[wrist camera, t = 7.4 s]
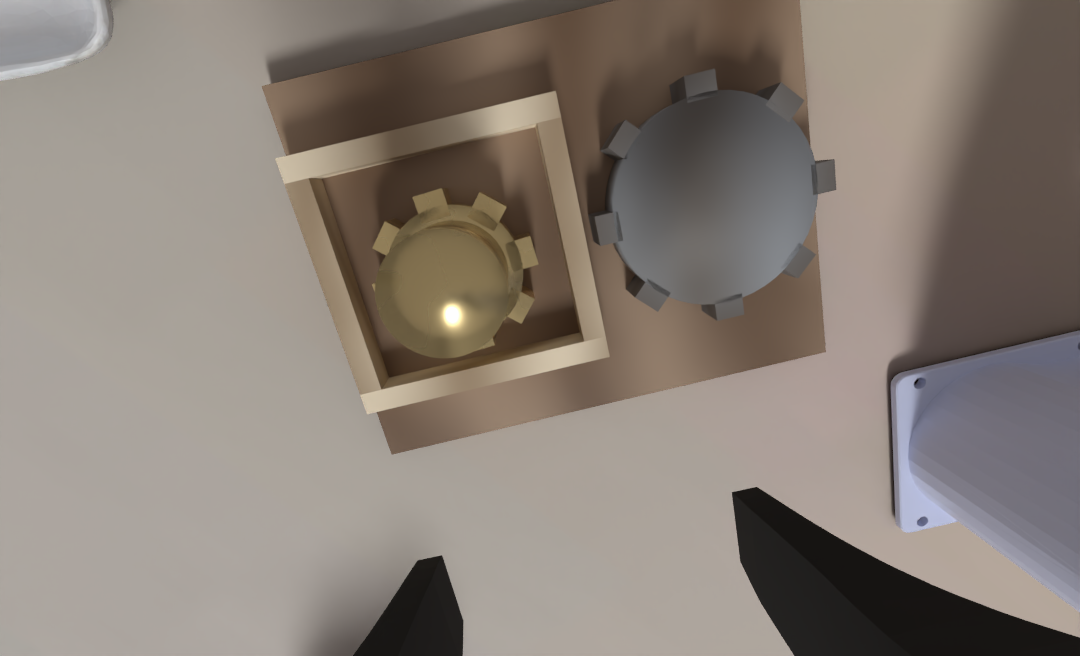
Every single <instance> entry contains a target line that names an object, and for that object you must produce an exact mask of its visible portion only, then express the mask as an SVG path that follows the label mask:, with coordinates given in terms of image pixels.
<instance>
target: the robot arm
mask: <svg viewBox="0 0 1080 656" xmlns="http://www.w3.org/2000/svg"><path fill="white" fill-rule="evenodd" d="M1078 343H1079V344H1078ZM918 378H919V380H918V382H917V383H916V384H915V385H914V382H915V380H916V379H918ZM891 408H892V436H893V463H894V491H895V518H896V525H897V526H898V527H899V528H900V529H902V530H903V531H904V532H907V533H908V532H915V531H919V530H923V529H928V528H932V527H936V526H940V525H945V524H949V523H953V522H960V523H961V524H962V525H964V526H965V527H966V528H968V529H969V530H970V531H972V532H973V533H974V534H976V535H977V536H978V537H980V538H981V539H982V540H984V541H985V542H986V543H988V544H989V545H990V546H992V547H993V548H994V549H996V550H997V551H998V552H1000V553H1001V554H1002V555H1004V556H1005V557H1006V558H1008V559H1009V560H1010V561H1012V562H1013V563H1014V564H1016V565H1017V566H1018V567H1020V568H1021V569H1022V570H1024V571H1025V572H1026V573H1028V574H1029V575H1030V576H1032V577H1033V578H1034V579H1036V580H1037V581H1038V582H1040V583H1041V584H1042V585H1044V586H1045V587H1046V588H1048V589H1049V590H1050V591H1052V592H1053V593H1054V594H1056V595H1057V596H1058V597H1060V598H1061V599H1062V600H1064V601H1065V602H1066V603H1068V604H1069V605H1070V606H1072V607H1073V608H1074V609H1076V610H1077V611H1078V612H1080V330H1079V331H1075V332H1070V333H1066V334H1062V335H1058V336H1053V337H1049V338H1045V339H1041V340H1036V341H1032V342H1028V343H1024V344H1019V345H1015V346H1011V347H1007V348H1002V349H998V350H994V351H990V352H985V353H981V354H977V355H973V356H968V357H964V358H960V359H956V360H952V361H947V362H943V363H939V364H935V365H930V366H926V367H922V368H918V369H913V370H909V371H905V372H901V373H899V374H897V375H896V376H895V377H894V378H893V379H892V381H891ZM732 497H733V505H734V513H735V521H736V529H737V537H738V545H739V553H740V561H741V563H742V566H743V568H744V570H745V572H746V574H747V576H748V578H749V580H750V582H751V584H752V586H753V588H754V590H755V592H756V594H757V596H758V598H759V600H760V602H761V604H762V605H763V607H764V609H765V610H766V612H767V613H768V615H769V617H770V618H771V620H772V621H773V623H774V624H775V626H776V628H777V629H778V631H779V632H780V634H781V636H782V637H783V639H784V640H785V642H786V643H787V645H788V646H789V648H790V650H791V651H792V653H793V654H794V656H1080V638H1079V637H1076V636H1072V635H1069V634H1066V633H1063V632H1060V631H1057V630H1053V629H1050V628H1047V627H1044V626H1041V625H1038V624H1035V623H1031V622H1028V621H1025V620H1022V619H1020V618H1017V617H1014V616H1011V615H1008V614H1005V613H1002V612H999V611H997V610H994V609H991V608H989V607H986V606H984V605H981V604H978V603H976V602H973V601H971V600H968V599H965V598H963V597H960V596H957V595H955V594H953V593H950V592H948V591H945V590H943V589H941V588H938V587H936V586H933V585H931V584H929V583H927V582H925V581H922V580H920V579H918V578H916V577H914V576H911V575H909V574H907V573H905V572H903V571H900V570H898V569H896V568H894V567H892V566H890V565H888V564H886V563H884V562H882V561H880V560H878V559H876V558H874V557H873V556H871V555H869V554H867V553H865V552H863V551H861V550H859V549H857V548H856V547H854V546H852V545H850V544H848V543H847V542H845V541H843V540H841V539H839V538H838V537H836V536H834V535H833V534H831V533H829V532H827V531H826V530H824V529H822V528H821V527H819V526H817V525H816V524H814V523H813V522H811V521H809V520H808V519H806V518H804V517H803V516H801V515H800V514H798V513H796V512H795V511H793V510H792V509H790V508H789V507H787V506H786V505H784V504H782V503H781V502H779V501H778V500H776V499H775V498H773V497H772V496H770V495H768V494H767V493H765V492H764V491H762V490H761V489H759V488H757V487H755V488H750V489H746V490H741V491H736V492H732ZM919 518H920V519H919ZM918 519H919V520H918ZM462 655H463V619H462V616H461V613H460V610H459V606H458V603H457V600H456V597H455V594H454V591H453V588H452V585H451V582H450V579H449V576H448V572H447V569H446V566H445V563H444V560H443V557H442V555H441V556H437V557H432V558H427V559H423V560H418V561H417V562H416V564H415V565H414V567H413V568H412V570H411V571H410V573H409V574H408V576H407V577H406V579H405V580H404V582H403V583H402V585H401V587H400V588H399V590H398V591H397V593H396V594H395V596H394V597H393V599H392V600H391V602H390V603H389V605H388V607H387V608H386V610H385V611H384V612H383V614H382V615H381V617H380V618H379V620H378V621H377V623H376V624H375V626H374V627H373V629H372V630H371V632H370V633H369V635H368V636H367V637H366V639H365V640H364V642H363V643H362V644H361V646H360V647H359V648H358V650H357V651H356V652H355V654H354V655H353V656H462Z"/></svg>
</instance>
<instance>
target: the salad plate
mask: <svg viewBox="0 0 1080 656" xmlns="http://www.w3.org/2000/svg"><path fill="white" fill-rule="evenodd" d="M113 19H114V18H113V12H112V8H111V5H110V2H109V0H0V81H1V80H8V79H14V78H20V77H25V76H30V75H35V74H40V73H44V72H48V71H51V70H55V69H58V68H61V67H65V66H68V65H71V64H75V63H78V62H80V61H83V60H85V59H87V58H90V57H92V56H94V55H96V54H97V53H99V52H101V51H102V50H103V49H104V48H105V47H106V46H107V44H108V42H109V41H110V39H111V37H112V32H113Z"/></svg>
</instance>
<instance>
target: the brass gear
mask: <svg viewBox="0 0 1080 656" xmlns="http://www.w3.org/2000/svg"><path fill="white" fill-rule="evenodd" d="M412 198H413V200H414V203H415V206H416V209H417V212H418V214H417V215H416V216H414V217H413V218H412V219H410V220H409V221H408V222H407V223H406V224H404V223H402V222H401V221H399V220H397V219H391V220H388V221H385V222H384V224H383V226H382V228H381V230H380V233H379V235H378V237H377V239H376V241H375V244H374V246H373V248H372V249H374V250H376V251H378V252H380V253H382V254H384V255H386V257H385V258H384V260H383V262H382V264H381V265H380V268H379V271H378V273H377V278H376V282H374V283H373V284H372V286H373V289H374V292H375V300H376V305H377V309H378V312H379V315H380V317H381V319H382V321H383V323H384V325H385V326H386V328H387V329H388V331H389V332H390V333H391V334H392V336H393V337H394V338H395V339H397V340H398V341H399V342H400V343H401V344H403V345H404V346H405V347H407V348H408V349H410V350H412V351H414V352H416V353H419V354H421V355H425V356H428V357H434V358H456V357H460V356H464V355H467V354H469V353H472V352H474V351H477V350H481V349H484V348H487V347H490V346H494V345H495V340H496V332H497V331H498V329H499V328H500V326H501V324H502V322H503V321H504V320H505V319H506V318H507V317H509V318H511V319H513V320H515V321H517V322H519V323H521V324H522V322H523V320H524V318H525V317H526V315H527V313H528V311H529V309H530V307H531V306H532V304H533V302H534V300H535V297H534V292H533V290H531V289H529V288H527V287H525V286H523V285H522V283H523V269H525V268H528V267H532V266H535V265H538V261H537V257H536V254H535V251H534V247H533V244H532V241H531V237H530V234H529V232H527V233H524V234H521V235H517V236H513V234H512V233H511V231H510V230H509V228H508V227H507V226H506V225H505V224H504V223H503V222H502V221H501V220H500V219H501V217H502V215H503V213H504V211H505V209H506V207H507V205H506V204H504V203H502V202H500V201H498V200H496V199H495V198H493V197H491V196H489V195H487V194H486V193H484V192H479V194H478V196H477V198H476V200H475V202H474V204H473V205H469V204H463V203H452V201H451V198H450V195H449V192H448V189H447V188H440V189H437V190H434V191H430V192H427V193H424V194H421V195H418V196H414V197H412Z"/></svg>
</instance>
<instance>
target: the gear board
mask: <svg viewBox="0 0 1080 656" xmlns="http://www.w3.org/2000/svg"><path fill="white" fill-rule="evenodd" d="M262 89H263V91H264V94H265V97H266V100H267V103H268V106H269V108H270V111H271V114H272V117H273V120H274V122H275V125H276V128H277V131H278V134H279V137H280V139H281V142H282V145H283V148H284V151H285V154H286V156H284V157H280V158H275V159H276V162H277V165H278V168H279V170H280V173H281V176H282V179H283V181H284V184H285V187H286V190H287V193H288V195H289V198H290V201H291V204H292V206H293V209H294V212H295V215H296V218H297V220H298V223H299V226H300V229H301V231H302V234H303V237H304V240H305V243H306V245H307V248H308V251H309V254H310V257H311V259H312V262H313V265H314V268H315V270H316V273H317V276H318V279H319V282H320V284H321V287H322V290H323V293H324V295H325V298H326V301H327V304H328V307H329V309H330V312H331V315H332V318H333V320H334V323H335V326H336V329H337V332H338V334H339V337H340V340H341V343H342V345H343V348H344V351H345V354H346V357H347V359H348V362H349V365H350V368H351V370H352V373H353V376H354V379H355V382H356V384H357V387H358V390H359V393H360V396H361V398H362V401H363V404H364V407H365V409H366V412H367V414H371V413H375V412H377V414H378V417H379V420H380V423H381V425H382V428H383V431H384V434H385V437H386V440H387V442H388V445H389V448H390V451H391V454H396V453H400V452H404V451H409V450H413V449H417V448H421V447H426V446H430V445H434V444H438V443H443V442H447V441H451V440H455V439H459V438H464V437H468V436H472V435H476V434H481V433H485V432H489V431H493V430H498V429H502V428H506V427H510V426H514V425H519V424H523V423H527V422H531V421H536V420H540V419H544V418H548V417H552V416H557V415H561V414H565V413H569V412H574V411H578V410H582V409H586V408H591V407H595V406H599V405H603V404H607V403H612V402H616V401H620V400H624V399H629V398H633V397H637V396H641V395H646V394H650V393H654V392H658V391H662V390H667V389H671V388H675V387H679V386H684V385H688V384H692V383H696V382H701V381H705V380H709V379H713V378H717V377H722V376H726V375H730V374H734V373H739V372H743V371H747V370H751V369H755V368H760V367H764V366H768V365H772V364H777V363H781V362H785V361H789V360H794V359H798V358H802V357H806V356H810V355H815V354H819V353H823V352H826V350H825V337H824V323H823V310H822V296H821V283H820V269H819V256H818V242H817V229H816V215H815V210H816V205H817V197H818V194H820V193H825V192H829V191H833V190H836V178H835V162H834V159H833V160H821V161H815V160H814V156H813V153H812V150H811V148H810V134H809V121H808V107H807V94H806V80H805V67H804V53H803V40H802V26H801V13H800V0H614V1H610V2H606V3H602V4H598V5H594V6H590V7H586V8H581V9H577V10H573V11H569V12H565V13H561V14H557V15H553V16H549V17H544V18H540V19H536V20H532V21H528V22H524V23H520V24H516V25H512V26H507V27H503V28H499V29H495V30H491V31H487V32H483V33H479V34H474V35H470V36H466V37H462V38H458V39H454V40H450V41H446V42H442V43H437V44H433V45H429V46H425V47H421V48H417V49H413V50H409V51H404V52H400V53H396V54H392V55H388V56H384V57H380V58H376V59H372V60H367V61H363V62H359V63H355V64H351V65H347V66H343V67H339V68H335V69H330V70H326V71H322V72H318V73H314V74H310V75H306V76H302V77H297V78H293V79H289V80H285V81H281V82H277V83H273V84H269V85H265V86H262ZM440 188H447V189H448V192H449V195H450V198H451V201H452V203H463V204H469V205H473V204H474V202H475V200H476V198H477V196H478V194H479V192H484V193H486V194H487V195H489V196H491V197H493V198H495V199H496V200H498V201H500V202H502V203H504V204H506V205H507V207H506V209H505V211H504V213H503V215H502V217H501V219H500V220H501V221H502V222H503V223H504V224H505V225H506V226H507V227H508V228H509V230H510V231H511V233H512V234H513V236H517V235H521V234H524V233H527V232H529V234H530V237H531V241H532V244H533V247H534V251H535V254H536V257H537V261H538V265H535V266H532V267H528V268H525V269H523V283H522V285H523V286H525V287H527V288H529V289H531V290H533V292H534V297H535V300H534V302H533V304H532V306H531V307H530V309H529V311H528V313H527V315H526V317H525V318H524V320H523V322H522V324H521V323H519V322H517V321H515V320H513V319H511V318H509V317H507V318H506V319H505V320H504V321H503V322H502V324H501V326H500V328H499V329H498V331H497V332H496V340H495V345H494V346H490V347H487V348H484V349H481V350H477V351H474V352H472V353H469V354H467V355H464V356H460V357H456V358H434V357H428V356H425V355H421V354H419V353H416V352H414V351H412V350H410V349H408V348H407V347H405V346H404V345H403V344H401V343H400V342H399V341H398V340H397V339H395V338H394V337H393V336H392V334H391V333H390V332H389V331H388V329H387V328H386V326H385V325H384V323H383V321H382V319H381V317H380V315H379V312H378V309H377V305H376V300H375V292H374V289H373V286H372V284H373V283H374V282H376V278H377V273H378V271H379V268H380V265H381V264H382V262H383V260H384V258H385V257H386V255H384V254H382V253H380V252H378V251H376V250H374V249H372V248H373V246H374V244H375V241H376V239H377V237H378V235H379V233H380V230H381V228H382V226H383V224H384V222H385V221H388V220H391V219H397V220H399V221H401V222H402V223H404V224H406V223H407V222H408V221H409V220H410V219H412V218H413V217H414V216H416V215H417V214H418V212H417V209H416V206H415V203H414V200H413V198H412V197H414V196H418V195H421V194H424V193H427V192H430V191H434V190H437V189H440Z"/></svg>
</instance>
